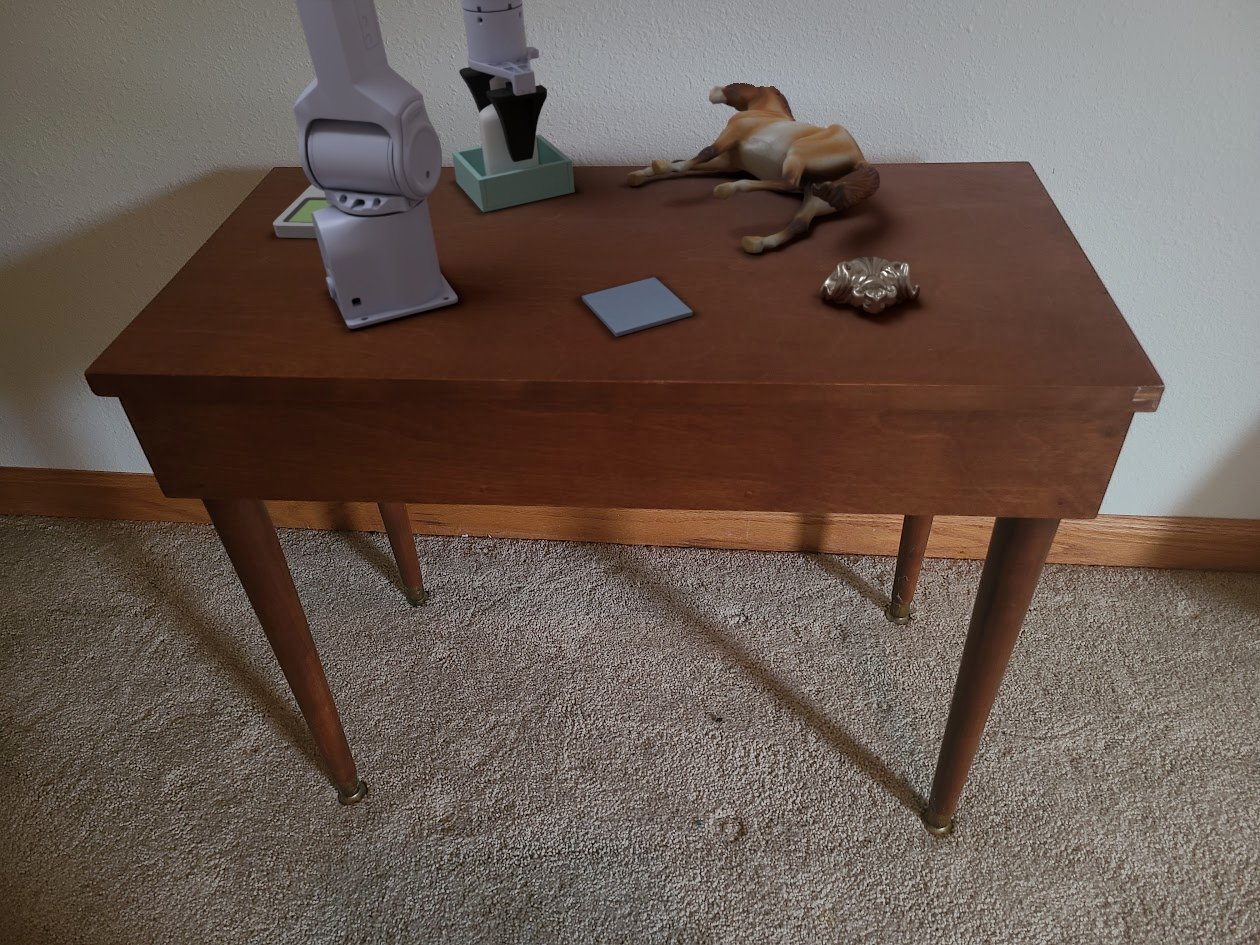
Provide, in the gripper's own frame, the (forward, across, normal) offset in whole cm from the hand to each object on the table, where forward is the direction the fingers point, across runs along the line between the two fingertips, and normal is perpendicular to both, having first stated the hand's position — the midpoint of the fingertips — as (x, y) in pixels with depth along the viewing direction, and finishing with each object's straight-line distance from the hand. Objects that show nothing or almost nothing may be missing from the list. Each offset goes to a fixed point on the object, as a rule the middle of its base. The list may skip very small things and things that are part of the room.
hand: (509, 148), depth 95 cm
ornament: (+4, -39, -17) cm, 43 cm away
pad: (+4, -30, 0) cm, 30 cm away
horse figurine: (-1, -17, -11) cm, 21 cm away
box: (+4, 0, 0) cm, 4 cm away
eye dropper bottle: (+4, 0, 0) cm, 4 cm away
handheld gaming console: (+4, +4, +17) cm, 18 cm away
